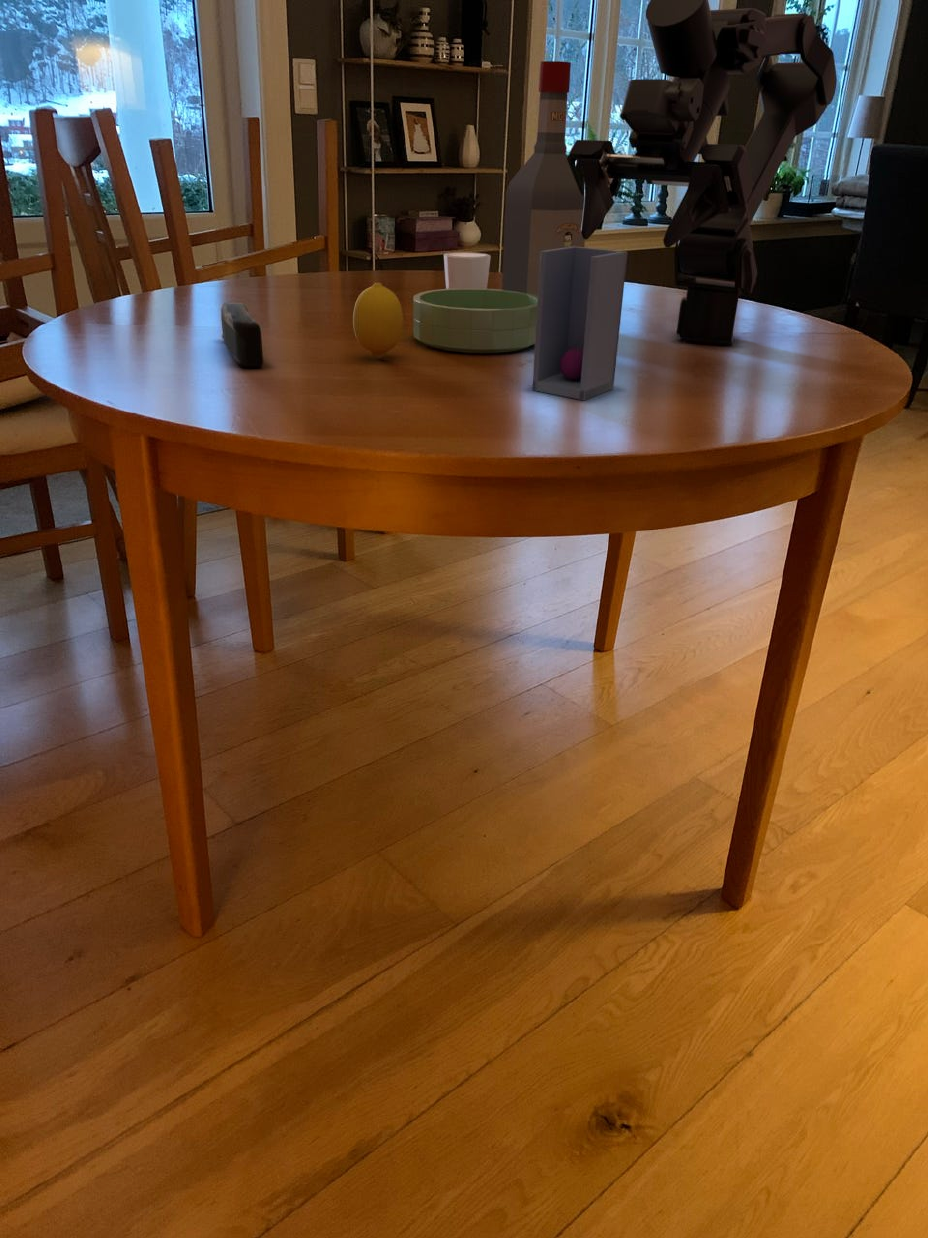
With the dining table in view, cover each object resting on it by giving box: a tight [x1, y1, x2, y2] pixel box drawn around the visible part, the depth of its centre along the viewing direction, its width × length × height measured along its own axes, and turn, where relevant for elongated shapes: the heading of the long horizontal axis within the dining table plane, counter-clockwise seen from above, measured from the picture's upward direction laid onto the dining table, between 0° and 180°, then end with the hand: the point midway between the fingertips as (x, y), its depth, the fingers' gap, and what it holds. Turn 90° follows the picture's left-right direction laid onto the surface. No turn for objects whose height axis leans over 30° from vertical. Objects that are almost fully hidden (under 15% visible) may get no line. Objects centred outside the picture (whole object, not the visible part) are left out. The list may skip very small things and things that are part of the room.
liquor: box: [501, 60, 586, 297], centre depth 113 cm, size 9×9×30 cm
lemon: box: [352, 282, 404, 359], centre depth 99 cm, size 6×6×8 cm
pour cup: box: [531, 246, 629, 401], centre depth 87 cm, size 6×6×13 cm
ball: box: [560, 349, 583, 380], centre depth 89 cm, size 3×3×3 cm
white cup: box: [443, 251, 492, 289], centre depth 130 cm, size 7×7×7 cm
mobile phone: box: [220, 301, 264, 368], centre depth 99 cm, size 5×3×15 cm
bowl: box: [412, 288, 538, 354], centre depth 109 cm, size 16×16×5 cm
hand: (623, 240), depth 90 cm, fingers open, 9 cm apart
